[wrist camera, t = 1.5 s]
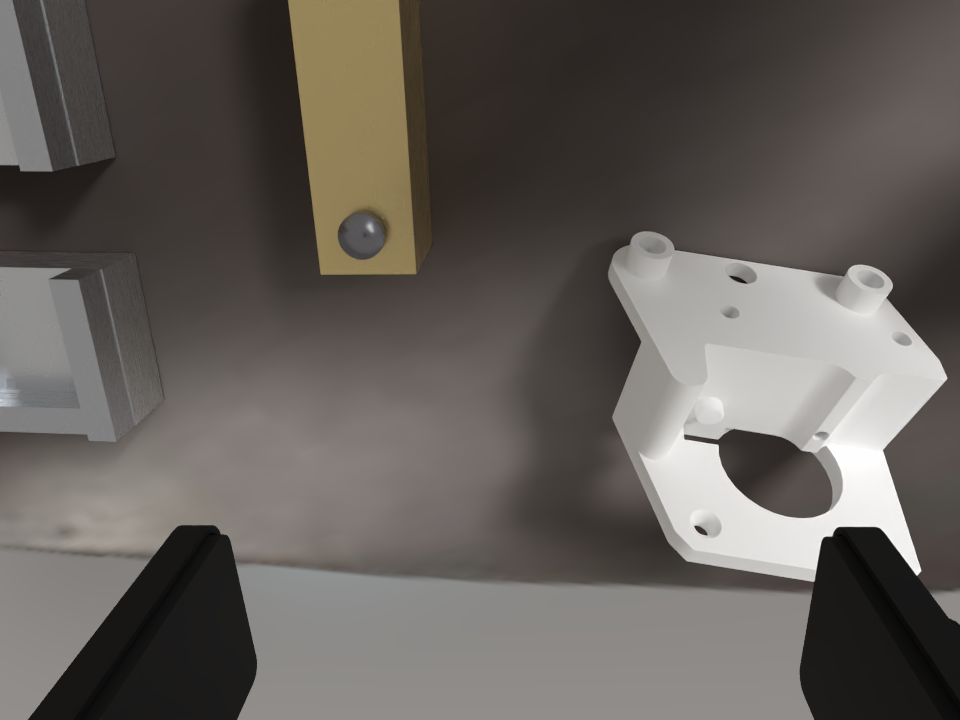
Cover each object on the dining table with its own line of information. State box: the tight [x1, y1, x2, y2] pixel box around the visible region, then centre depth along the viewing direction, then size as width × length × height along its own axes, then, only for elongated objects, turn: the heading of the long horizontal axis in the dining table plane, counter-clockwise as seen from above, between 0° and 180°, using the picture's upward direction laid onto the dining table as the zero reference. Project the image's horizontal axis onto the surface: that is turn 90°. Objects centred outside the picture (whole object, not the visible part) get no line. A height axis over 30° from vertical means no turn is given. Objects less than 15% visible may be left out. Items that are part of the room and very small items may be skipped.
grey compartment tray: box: [0, 0, 164, 442], centre depth 28 cm, size 18×8×4 cm, turn 0°
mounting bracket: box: [608, 231, 947, 582], centre depth 26 cm, size 12×6×11 cm, turn 82°
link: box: [288, 0, 432, 275], centre depth 25 cm, size 12×4×5 cm, turn 1°
